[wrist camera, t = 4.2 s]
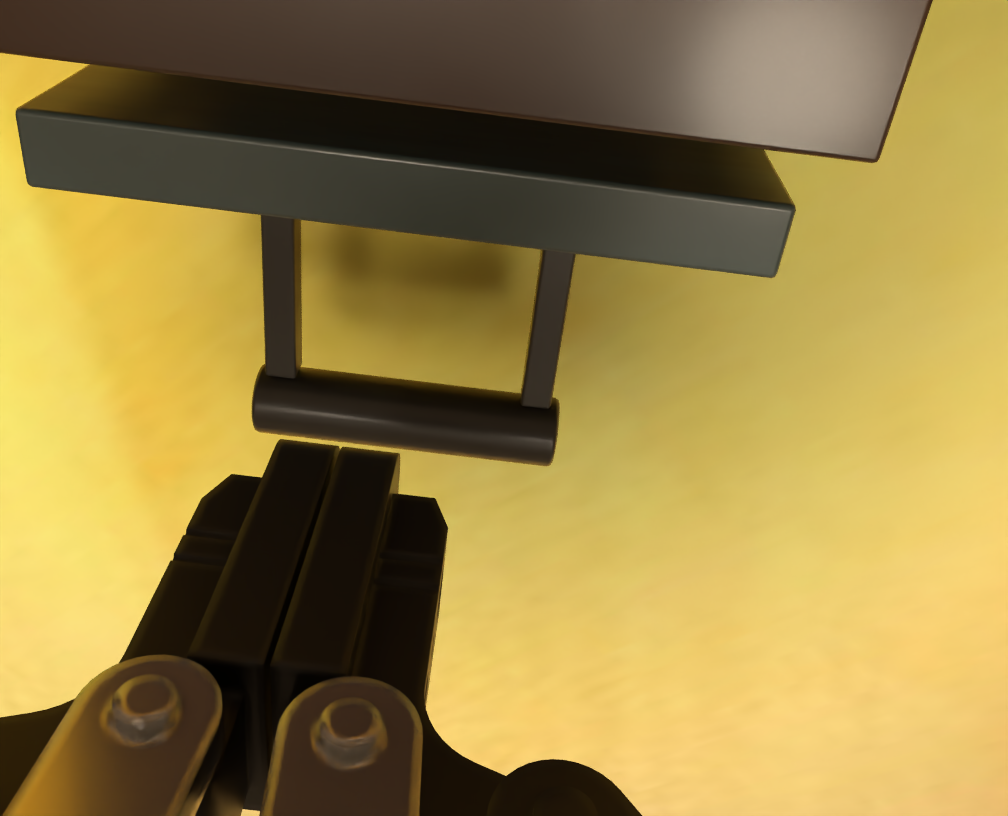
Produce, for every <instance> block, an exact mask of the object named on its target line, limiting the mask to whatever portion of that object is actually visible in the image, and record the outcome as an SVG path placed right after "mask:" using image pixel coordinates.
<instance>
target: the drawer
mask: <svg viewBox="0 0 1008 816" xmlns="http://www.w3.org/2000/svg"><path fill="white" fill-rule="evenodd" d="M16 120H17V126H18V132H19V137H20V143H21V149H22V155H23V161H24V167H25V173H26V178H27V182H28V184H29V185H30V186H32V187H40V188H48V189H56V190H64V191H72V192H80V193H88V194H96V195H104V196H113V197H121V198H129V199H137V200H145V201H153V202H161V203H169V204H177V205H185V206H193V207H202V208H210V209H218V210H226V211H234V212H242V213H250V214H258V215H261V237H262V269H263V301H264V333H265V364H264V365H262V367H261V368H260V370H259V373H258V375H257V378H256V381H255V385H254V390H253V397H252V421H253V425H254V428H255V430H257V431H259V432H263V433H271V434H279V435H288V436H296V437H305V438H313V439H321V440H330V441H338V442H347V443H355V444H363V445H372V446H380V447H389V448H397V449H405V450H414V451H422V452H431V453H439V454H447V455H456V456H464V457H473V458H481V459H489V460H498V461H506V462H515V463H523V464H531V465H540V466H550V465H551V463H552V461H553V458H554V454H555V448H556V442H557V435H558V426H559V412H560V405H559V400H558V399H556V398H554V397H552V395H553V389H554V383H555V377H556V371H557V365H558V359H559V353H560V347H561V341H562V335H563V329H564V323H565V317H566V311H567V305H568V299H569V293H570V287H571V281H572V275H573V269H574V263H575V257H576V254H582V255H590V256H598V257H606V258H614V259H622V260H630V261H638V262H646V263H655V264H663V265H671V266H679V267H687V268H695V269H703V270H711V271H719V272H727V273H735V274H744V275H752V276H760V277H768V278H773V277H775V276H776V274H777V272H778V269H779V265H780V262H781V258H782V255H783V252H784V248H785V245H786V242H787V238H788V235H789V231H790V228H791V225H792V221H793V218H794V215H795V211H796V209H795V205H794V203H793V201H792V199H791V197H790V196H789V194H788V192H787V190H786V188H785V187H784V185H783V183H782V181H781V179H780V178H779V176H778V174H777V172H776V170H775V169H774V167H773V165H772V163H771V161H770V160H769V158H768V156H767V154H766V152H765V151H764V149H757V148H749V147H741V146H733V145H725V144H717V143H709V142H701V141H693V140H686V139H678V138H670V137H662V136H654V135H646V134H638V133H630V132H622V131H614V130H606V129H598V128H591V127H583V126H575V125H567V124H559V123H551V122H543V121H535V120H527V119H519V118H511V117H503V116H496V115H488V114H480V113H472V112H464V111H456V110H448V109H440V108H432V107H424V106H416V105H409V104H401V103H393V102H385V101H377V100H369V99H361V98H353V97H345V96H337V95H329V94H321V93H314V92H306V91H298V90H290V89H282V88H274V87H266V86H258V85H250V84H242V83H234V82H227V81H219V80H211V79H203V78H195V77H187V76H179V75H171V74H163V73H155V72H147V71H139V70H132V69H124V68H116V67H108V66H100V65H92V64H90V65H88V66H87V67H85V68H83V69H82V70H80V71H78V72H77V73H75V74H73V75H72V76H70V77H68V78H67V79H65V80H63V81H62V82H60V83H58V84H57V85H55V86H53V87H52V88H50V89H48V90H47V91H45V92H43V93H42V94H40V95H38V96H37V97H35V98H33V99H32V100H30V101H28V102H27V103H25V104H23V105H22V106H20V107H18V108H17V110H16ZM301 220H307V221H315V222H323V223H331V224H339V225H347V226H355V227H363V228H371V229H380V230H388V231H396V232H404V233H412V234H420V235H428V236H436V237H444V238H452V239H460V240H468V241H477V242H485V243H493V244H501V245H509V246H517V247H525V248H533V249H541V255H540V262H539V269H538V276H537V283H536V290H535V297H534V304H533V311H532V318H531V325H530V332H529V339H528V346H527V353H526V360H525V367H524V374H523V381H522V388H521V394H520V393H512V392H504V391H495V390H487V389H479V388H471V387H462V386H454V385H446V384H437V383H429V382H421V381H412V380H404V379H396V378H388V377H379V376H371V375H363V374H354V373H346V372H338V371H329V370H321V369H313V368H305V367H301V364H302V304H301Z"/></svg>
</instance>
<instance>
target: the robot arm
mask: <svg viewBox="0 0 1008 816" xmlns="http://www.w3.org/2000/svg"><path fill="white" fill-rule="evenodd" d="M399 474H400V454H399V453H391V452H383V451H375V450H366V449H358V448H349V447H342V448H341V450H340V449H339V446H334V445H326V444H318V443H309V442H301V441H292V440H284V439H280V440H279V441H278V443H277V444H276V446H275V449H274V451H273V453H272V456H271V458H270V460H269V463H268V465H267V468H266V470H265V472H264V475H263V477H262V478H260V477H252V476H243V475H235V474H231V475H230V476H229V477H227V478H226V479H225V480H224V481H222V482H221V483H220V484H219V485H218V486H216V487H215V488H214V489H213V490H211V491H210V492H209V493H208V494H207V495H205V496H204V497H203V498H202V499H201V501H200V503H199V505H198V507H197V509H196V511H195V513H194V515H193V517H192V519H191V521H190V523H189V525H188V527H187V529H186V535H183V537H182V539H181V541H180V543H179V545H178V547H177V549H176V551H175V553H174V559H173V561H170V563H169V565H168V567H167V569H166V571H165V573H164V575H163V577H162V579H161V581H160V583H159V585H158V587H157V589H156V591H155V593H154V595H153V597H152V599H151V601H150V603H149V605H148V607H147V609H146V611H145V614H144V616H143V618H142V620H141V622H140V624H139V626H138V628H137V630H136V632H135V634H134V636H133V638H132V640H131V642H130V644H129V646H128V648H127V650H126V652H125V654H124V655H123V657H122V659H121V660H120V662H119V664H116V665H114V666H112V667H110V668H109V669H107V670H105V671H103V672H102V673H100V674H99V675H98V676H96V677H95V678H94V679H92V680H91V681H90V682H89V683H88V684H87V685H86V686H85V687H84V688H83V689H82V690H81V692H80V693H79V694H78V696H77V697H76V698H75V699H73V700H71V701H69V702H66V703H64V704H62V705H59V706H56V707H53V708H50V709H47V710H42V711H37V712H32V713H27V714H20V715H14V716H7V717H1V718H0V816H241V812H242V809H248V810H257V811H260V815H259V816H642V815H641V814H640V813H639V811H638V810H637V809H636V808H635V807H634V806H633V804H632V803H631V802H630V801H629V800H628V799H627V797H626V796H625V795H624V794H623V793H622V792H621V790H620V789H619V788H618V787H617V786H616V785H615V784H614V783H613V782H612V781H610V780H609V779H608V778H606V777H605V776H604V775H602V774H601V773H599V772H597V771H595V770H594V769H592V768H590V767H587V766H585V765H582V764H579V763H576V762H571V761H567V760H555V759H550V760H540V761H536V762H532V763H528V764H526V765H524V766H522V767H519V768H517V769H516V770H514V771H513V772H511V773H510V774H508V775H507V776H504V775H502V774H500V773H498V772H495V771H493V770H491V769H488V768H486V767H484V766H482V765H479V764H477V763H475V762H473V761H471V760H469V759H467V758H465V757H463V756H462V755H460V754H459V753H457V752H456V751H454V750H453V749H452V748H451V747H450V746H448V745H447V744H446V743H445V742H444V741H443V740H442V739H441V737H440V736H439V735H438V733H437V732H436V731H435V729H434V727H433V726H432V724H431V722H430V720H429V717H428V714H427V711H426V701H427V694H428V687H429V680H430V673H431V666H432V659H433V651H434V645H435V637H436V630H437V623H438V616H439V607H440V598H441V588H442V579H443V570H444V560H445V551H446V541H447V532H448V527H447V524H446V522H445V520H444V517H443V515H442V513H441V510H440V508H439V506H438V504H437V501H436V499H435V498H428V497H420V496H411V495H403V494H398V489H399Z"/></svg>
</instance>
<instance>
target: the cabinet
mask: <svg viewBox="0 0 1008 816" xmlns="http://www.w3.org/2000/svg"><path fill="white" fill-rule="evenodd" d="M932 1H933V0H0V53H5V54H13V55H21V56H29V57H37V58H45V59H52V60H60V61H68V62H76V63H84V64H92V65H100V66H108V67H116V68H124V69H132V70H139V71H147V72H155V73H163V74H171V75H179V76H187V77H195V78H203V79H211V80H219V81H227V82H234V83H242V84H250V85H258V86H266V87H274V88H282V89H290V90H298V91H306V92H314V93H321V94H329V95H337V96H345V97H353V98H361V99H369V100H377V101H385V102H393V103H401V104H409V105H416V106H424V107H432V108H440V109H448V110H456V111H464V112H472V113H480V114H488V115H496V116H503V117H511V118H519V119H527V120H535V121H543V122H551V123H559V124H567V125H575V126H583V127H591V128H598V129H606V130H614V131H622V132H630V133H638V134H646V135H654V136H662V137H670V138H678V139H686V140H693V141H701V142H709V143H717V144H725V145H733V146H741V147H749V148H757V149H765V150H773V151H780V152H788V153H796V154H804V155H812V156H820V157H828V158H836V159H844V160H852V161H860V162H868V163H874V162H877V161H878V160H879V158H880V155H881V152H882V149H883V146H884V143H885V140H886V137H887V135H888V132H889V129H890V126H891V123H892V120H893V117H894V114H895V111H896V108H897V105H898V102H899V99H900V96H901V93H902V90H903V87H904V84H905V81H906V78H907V75H908V72H909V69H910V66H911V63H912V60H913V57H914V54H915V51H916V48H917V45H918V42H919V39H920V36H921V33H922V30H923V28H924V25H925V22H926V19H927V16H928V13H929V10H930V7H931V4H932Z"/></svg>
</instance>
